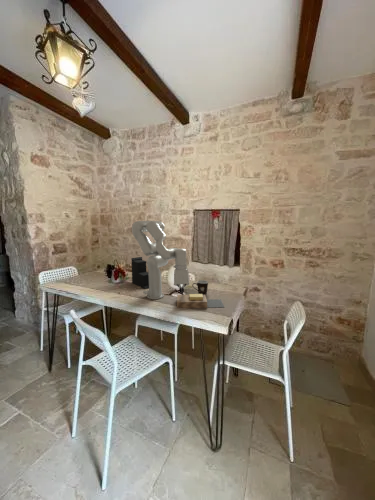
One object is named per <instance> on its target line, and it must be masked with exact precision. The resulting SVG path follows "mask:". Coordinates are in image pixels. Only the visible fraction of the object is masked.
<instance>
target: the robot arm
mask: <svg viewBox="0 0 375 500" xmlns="http://www.w3.org/2000/svg"><path fill="white" fill-rule="evenodd" d="M131 233H132V235H133V237H134V239H135V240H136V241H137V243H138V245H139V247H140V249H141V251H142V252H143V254H144V255H145V256H146V257H147V256H149V257H147V259H146V267H147V272H148V273H149V288H148V290H143V294H144V295H146V297H147V299H149V300H157V299H159V300H160V299H162V298H164V297H165V295H164V294H165V293H163V289H162V286H163V285H162V271H161V269H160V268H161V267H165V266H167V265H168V263H169V261H171V260H175V264H174V265H173V266H172V267H173V268H174V270H173V286H176V287H178V289H179V293H180V295H184V293H185V288H186V286H189V285H190V274H189V269H188V268H187V265H188V263H187V249H185V248H177V247H171V248H166V246H165V245H164V244H163V242H164V241H165V240H166V237H167V235H166V233H165V224H164V222H162V221H161V220H138V221H135V222H133V223H132V226H131ZM145 233H149V234H150V236H151V237H152V239H153V241H155V242H152V241H150V239H149V237H148V236H147V234H145ZM181 285H182V286H181Z"/></svg>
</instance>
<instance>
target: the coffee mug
mask: <svg viewBox="0 0 375 500" xmlns="http://www.w3.org/2000/svg"><path fill="white" fill-rule="evenodd" d="M191 285H192V288H193V289H194V290H195V291H197V292H198V293H197V294H202V295H205V296H207V294H208V287H209V286H208V285H209V281H208V280H202V279H201V280H197V281H196V282H193V284H191ZM194 285H196V286H197V288H196V287H194Z"/></svg>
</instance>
